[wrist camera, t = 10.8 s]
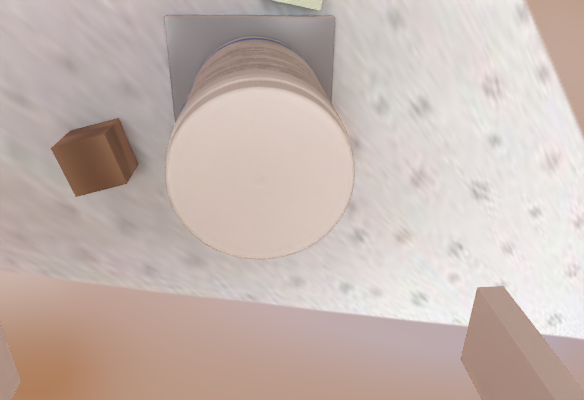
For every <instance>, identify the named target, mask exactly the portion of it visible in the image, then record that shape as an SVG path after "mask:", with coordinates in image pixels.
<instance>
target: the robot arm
mask: <svg viewBox="0 0 584 400" xmlns="http://www.w3.org/2000/svg"><path fill="white" fill-rule="evenodd" d="M461 361H462V363H463V365H464V367H465V369H466V370H467V372H468V374H469V376H470V378H471V380H472V382H473V384H474V386H475V387H476V389H477V391H478V393H479V395H480V397H481V399H482V400H584V390H583V388H582V387H581V386H580V384H579V383H578V382H577V381H576V379H575V378H574V377H573V375H572V374H571V373H570V372H569V370H568V369H567V368H566V366H565V365H564V364H563V363H562V361H561V360H560V359H559V358H558V356H557V355H556V354H555V352H554V351H553V350H552V348H551V347H550V346H549V345H548V343H547V342H546V341H545V339H544V338H543V337H542V335H541V334H540V333H539V332H538V330H537V329H536V328H535V326H534V325H533V324H532V323H531V321H530V320H529V319H528V317H527V316H526V315H525V314H524V312H523V311H522V310H521V308H520V307H519V306H518V305H517V303H516V302H515V301H514V299H513V298H512V297H511V295H510V294H509V293H508V292H507V290H506V289H505V288H504V286H501V287H477V291H476V296H475V300H474V304H473V308H472V313H471V317H470V321H469V326H468V330H467V334H466V339H465V343H464V347H463V351H462V356H461ZM20 383H21V380H20V377H19V374H18V371H17V368H16V365H15V362H14V359H13V356H12V354H11V351H10V348H9V345H8V342H7V339H6V336H5V334H4V331H3V328H2V325H1V322H0V400H11V399H12V397H13V395H14V394H15V392H16V390H17V388H18V387H19V385H20Z"/></svg>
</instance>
